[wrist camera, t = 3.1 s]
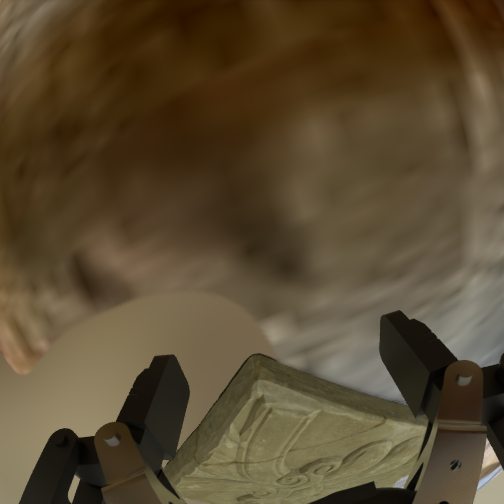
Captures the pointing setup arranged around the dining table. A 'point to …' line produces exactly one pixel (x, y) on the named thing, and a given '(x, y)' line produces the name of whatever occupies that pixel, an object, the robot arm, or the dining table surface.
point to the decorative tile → (293, 440)
